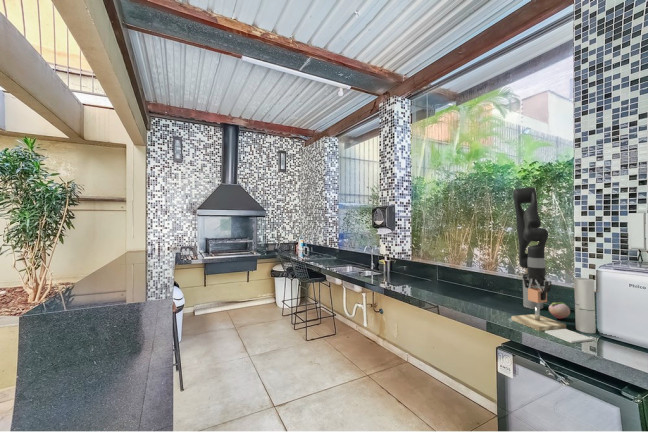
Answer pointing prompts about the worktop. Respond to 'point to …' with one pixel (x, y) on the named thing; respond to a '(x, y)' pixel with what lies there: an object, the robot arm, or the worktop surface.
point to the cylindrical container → (584, 305)
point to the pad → (568, 335)
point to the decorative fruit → (559, 310)
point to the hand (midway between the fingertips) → (537, 298)
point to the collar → (535, 295)
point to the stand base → (539, 322)
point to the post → (537, 313)
